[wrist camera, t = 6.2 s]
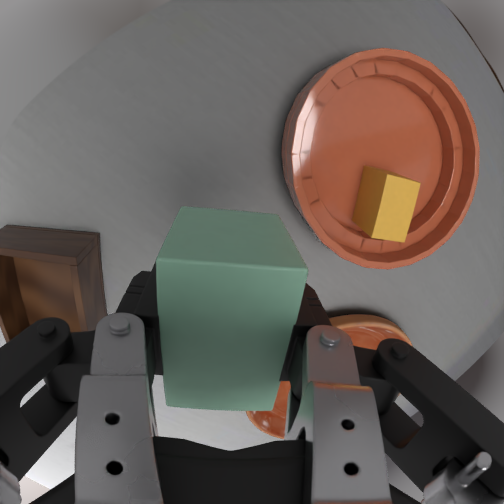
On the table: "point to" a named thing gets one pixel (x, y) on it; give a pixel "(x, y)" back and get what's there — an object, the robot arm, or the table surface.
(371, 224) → the yellow block
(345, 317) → the saucer
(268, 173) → the table surface
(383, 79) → the bowl
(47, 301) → the holder
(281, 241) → the mint green block
